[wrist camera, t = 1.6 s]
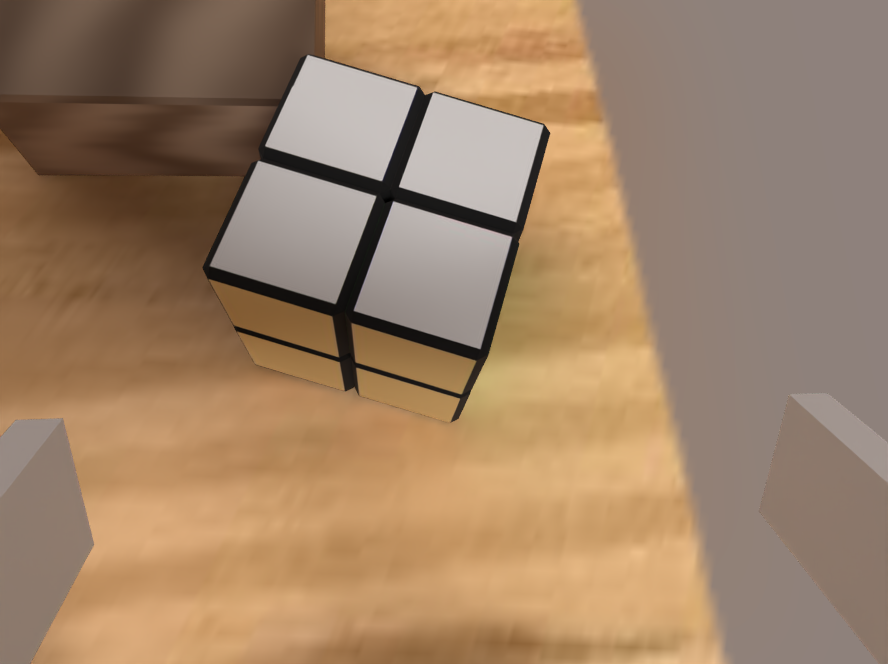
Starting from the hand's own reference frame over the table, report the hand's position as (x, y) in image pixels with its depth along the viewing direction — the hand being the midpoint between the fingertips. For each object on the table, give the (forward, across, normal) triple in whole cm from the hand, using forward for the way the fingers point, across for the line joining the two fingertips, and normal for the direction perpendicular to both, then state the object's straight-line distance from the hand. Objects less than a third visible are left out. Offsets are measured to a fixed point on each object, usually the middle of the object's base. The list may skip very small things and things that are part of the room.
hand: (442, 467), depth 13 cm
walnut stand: (+30, -11, +5) cm, 33 cm away
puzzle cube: (+21, -1, -5) cm, 22 cm away
